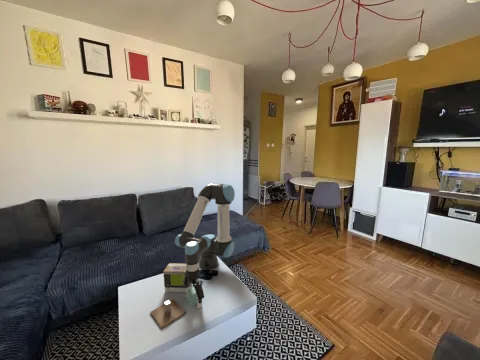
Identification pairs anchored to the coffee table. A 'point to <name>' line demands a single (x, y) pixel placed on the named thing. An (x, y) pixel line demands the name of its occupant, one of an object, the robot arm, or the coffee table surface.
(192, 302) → the pale green upright block
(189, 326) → the coffee table surface
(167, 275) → the tea box
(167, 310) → the post
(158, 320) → the board
